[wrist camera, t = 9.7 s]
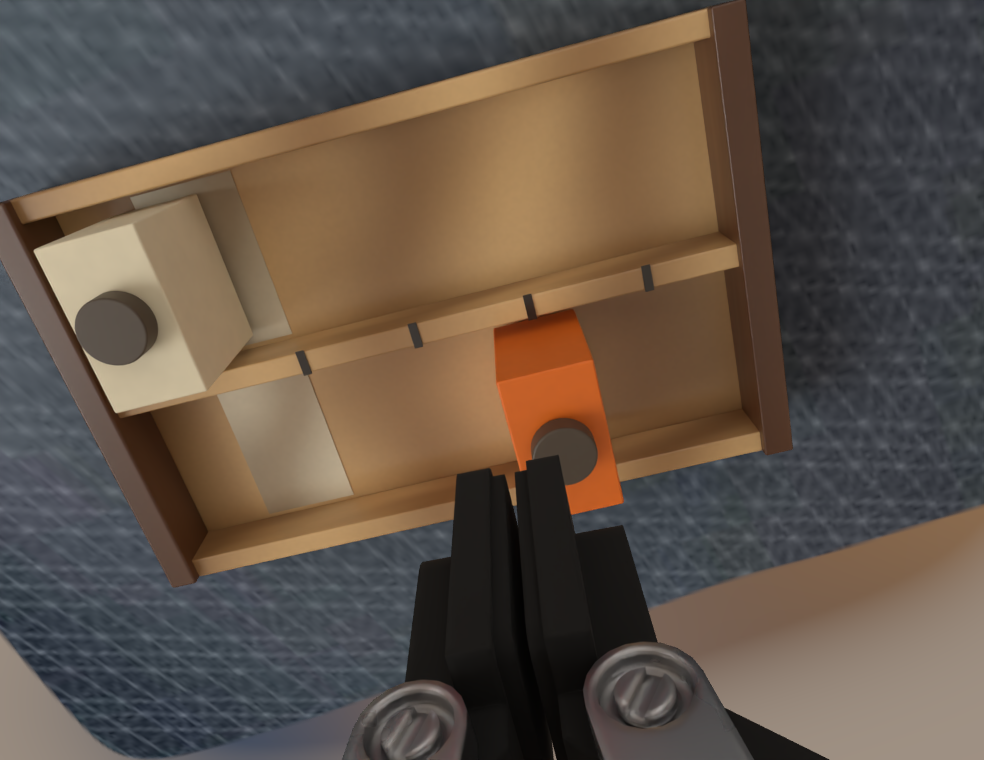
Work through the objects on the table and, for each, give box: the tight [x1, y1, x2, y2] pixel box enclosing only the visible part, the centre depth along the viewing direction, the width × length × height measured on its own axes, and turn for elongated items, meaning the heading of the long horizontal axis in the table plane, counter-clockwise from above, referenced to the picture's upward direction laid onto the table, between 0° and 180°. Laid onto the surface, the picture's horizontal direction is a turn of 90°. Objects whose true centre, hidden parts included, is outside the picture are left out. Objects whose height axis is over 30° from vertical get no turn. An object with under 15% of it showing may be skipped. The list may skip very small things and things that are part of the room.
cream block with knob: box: [34, 194, 253, 413], centre depth 23 cm, size 3×5×6 cm, turn 14°
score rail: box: [0, 0, 793, 587], centre depth 26 cm, size 24×15×3 cm, turn 104°
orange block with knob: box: [493, 309, 624, 515], centre depth 25 cm, size 3×5×6 cm, turn 15°
